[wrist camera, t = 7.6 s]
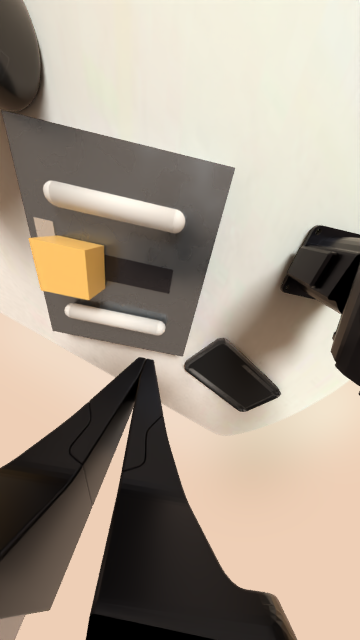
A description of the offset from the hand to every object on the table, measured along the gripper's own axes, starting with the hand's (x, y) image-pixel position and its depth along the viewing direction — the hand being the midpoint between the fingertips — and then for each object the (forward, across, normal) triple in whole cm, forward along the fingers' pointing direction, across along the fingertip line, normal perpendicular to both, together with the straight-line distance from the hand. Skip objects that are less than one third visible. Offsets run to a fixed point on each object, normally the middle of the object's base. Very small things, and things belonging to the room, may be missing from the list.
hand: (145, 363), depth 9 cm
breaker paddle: (+9, +8, -2) cm, 12 cm away
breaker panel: (+12, +5, -2) cm, 13 cm away
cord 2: (+9, +5, -7) cm, 12 cm away
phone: (+13, -12, +12) cm, 21 cm away
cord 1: (+9, +5, +3) cm, 11 cm away
